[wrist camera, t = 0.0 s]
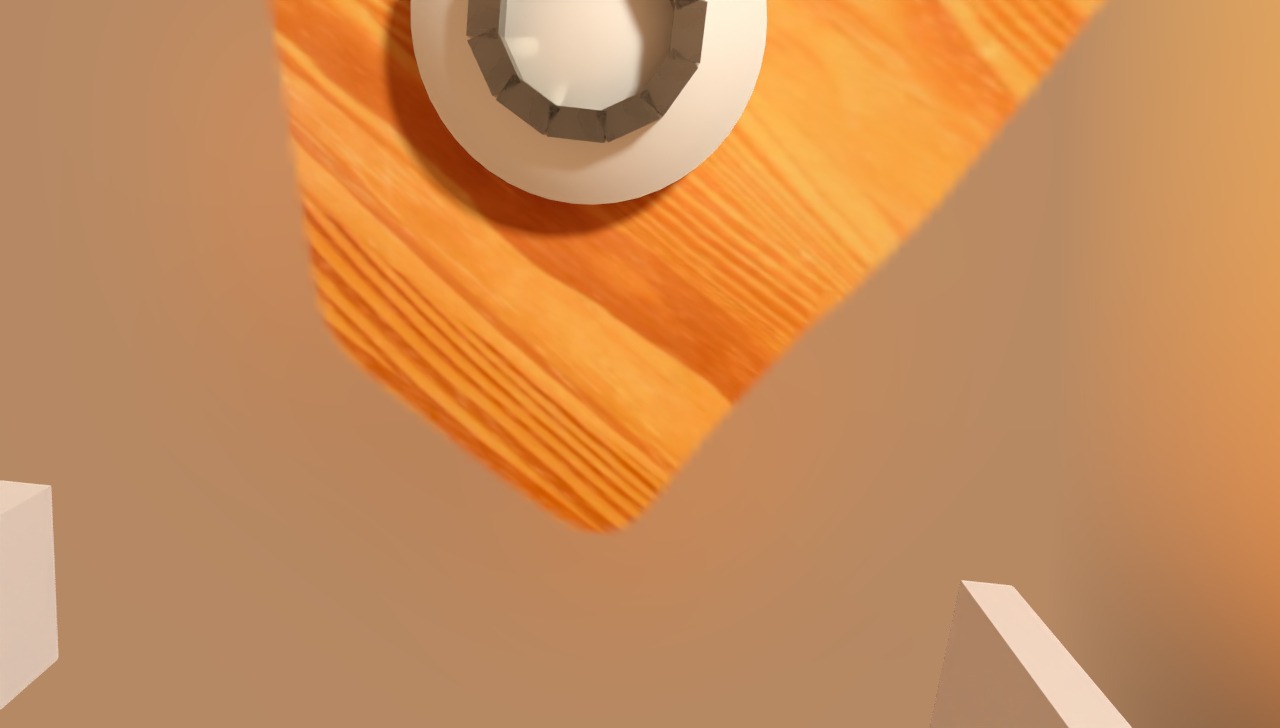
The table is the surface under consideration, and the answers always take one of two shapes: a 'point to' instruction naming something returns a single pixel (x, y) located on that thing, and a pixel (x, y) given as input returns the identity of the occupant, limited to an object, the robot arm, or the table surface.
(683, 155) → the socket base
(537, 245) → the table surface
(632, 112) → the socket collar
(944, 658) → the robot arm
